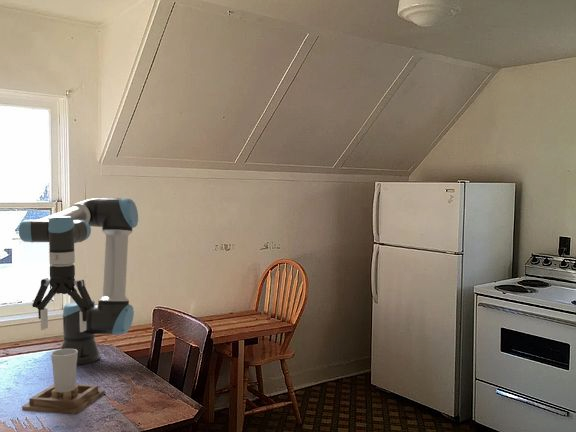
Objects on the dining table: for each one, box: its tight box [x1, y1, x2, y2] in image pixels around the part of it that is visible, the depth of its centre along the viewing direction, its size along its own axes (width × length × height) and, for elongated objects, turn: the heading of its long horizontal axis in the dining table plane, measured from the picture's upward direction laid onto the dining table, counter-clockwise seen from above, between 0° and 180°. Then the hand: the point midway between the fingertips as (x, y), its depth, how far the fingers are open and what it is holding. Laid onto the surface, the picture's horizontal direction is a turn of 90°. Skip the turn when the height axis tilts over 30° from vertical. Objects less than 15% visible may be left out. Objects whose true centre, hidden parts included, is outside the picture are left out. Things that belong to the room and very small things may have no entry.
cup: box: [50, 349, 78, 393], centre depth 185 cm, size 8×8×12 cm
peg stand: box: [21, 383, 106, 415], centre depth 185 cm, size 18×18×4 cm
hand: (63, 330), depth 186 cm, fingers open, 13 cm apart
